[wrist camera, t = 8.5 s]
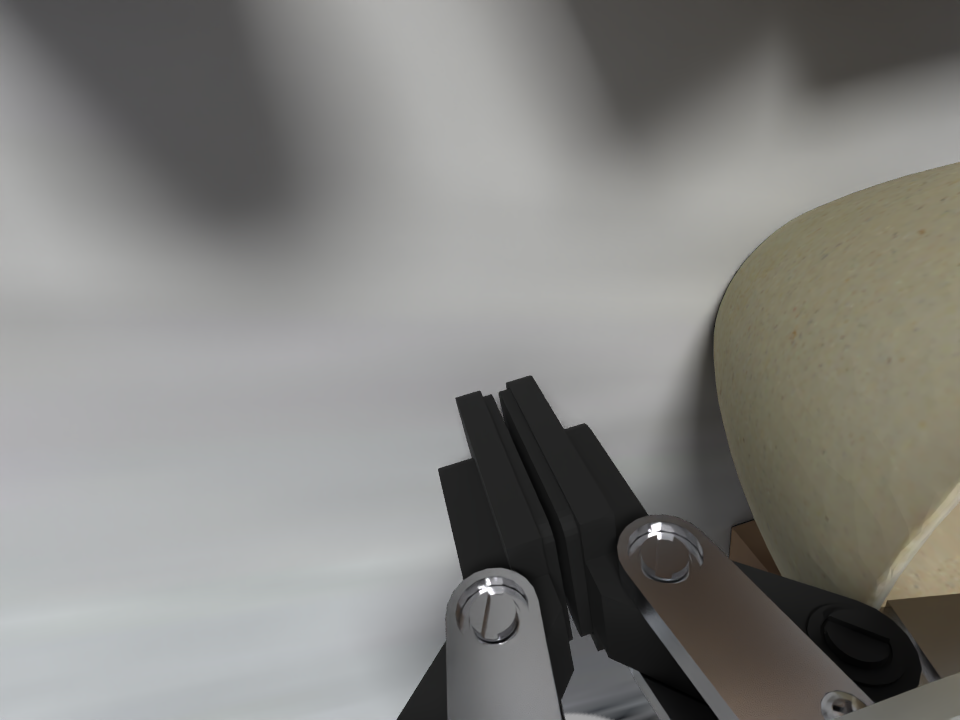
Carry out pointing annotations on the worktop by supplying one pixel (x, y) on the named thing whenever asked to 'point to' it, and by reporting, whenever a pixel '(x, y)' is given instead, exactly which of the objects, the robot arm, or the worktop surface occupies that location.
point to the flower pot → (852, 390)
